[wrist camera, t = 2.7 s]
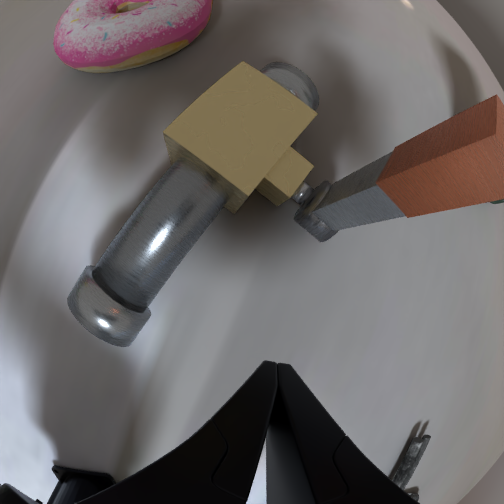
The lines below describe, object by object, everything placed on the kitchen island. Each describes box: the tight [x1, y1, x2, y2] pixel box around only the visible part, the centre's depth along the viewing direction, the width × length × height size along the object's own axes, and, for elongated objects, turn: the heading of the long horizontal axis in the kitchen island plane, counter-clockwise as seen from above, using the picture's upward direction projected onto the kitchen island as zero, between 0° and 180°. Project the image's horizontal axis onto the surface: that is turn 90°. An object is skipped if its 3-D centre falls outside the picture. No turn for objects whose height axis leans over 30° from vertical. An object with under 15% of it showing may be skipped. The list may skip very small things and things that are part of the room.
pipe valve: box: [68, 61, 319, 347], centre depth 14 cm, size 18×8×5 cm, turn 143°
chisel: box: [294, 95, 504, 242], centre depth 10 cm, size 3×2×14 cm, turn 143°
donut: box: [54, 0, 213, 73], centre depth 13 cm, size 14×13×5 cm
